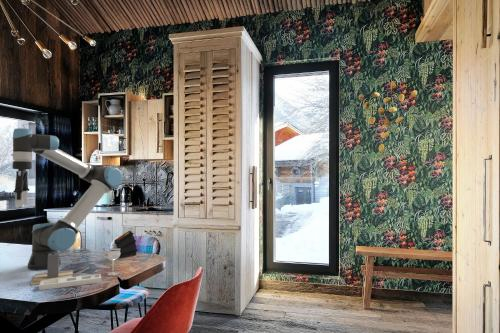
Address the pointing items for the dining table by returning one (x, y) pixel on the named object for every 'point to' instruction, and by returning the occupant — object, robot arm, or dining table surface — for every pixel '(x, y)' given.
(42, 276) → the oak board
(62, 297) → the dining table surface
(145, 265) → the dining table surface
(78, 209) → the robot arm
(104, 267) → the dining table surface
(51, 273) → the gray knobbed block
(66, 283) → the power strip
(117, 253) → the wineglass
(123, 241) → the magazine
